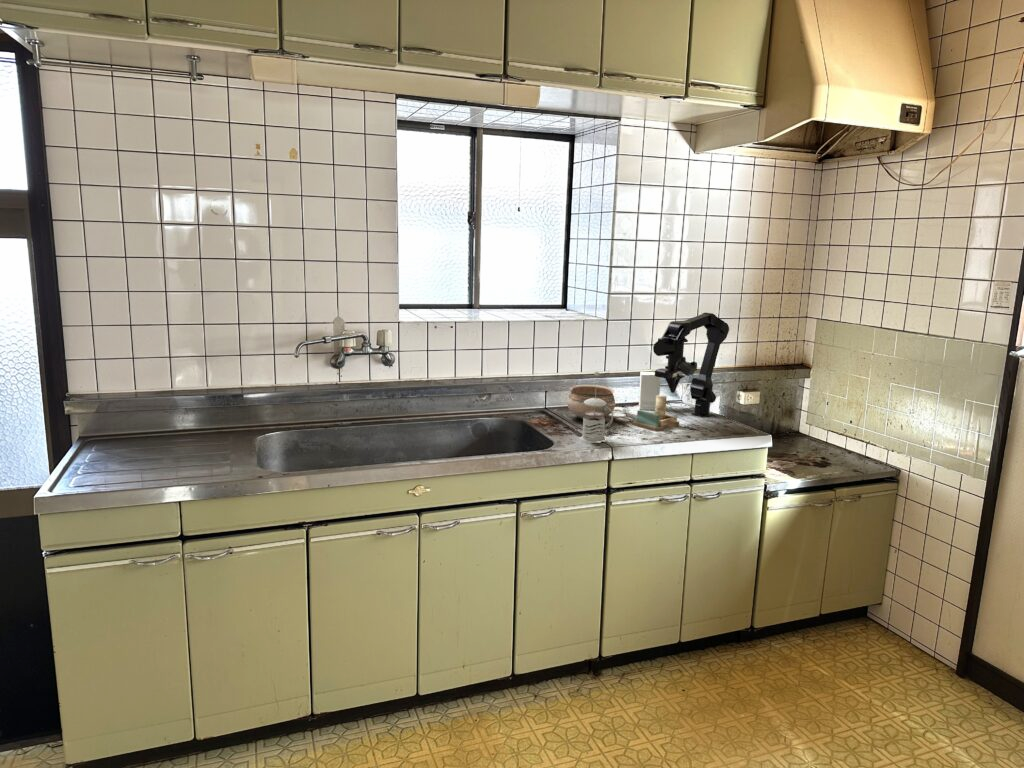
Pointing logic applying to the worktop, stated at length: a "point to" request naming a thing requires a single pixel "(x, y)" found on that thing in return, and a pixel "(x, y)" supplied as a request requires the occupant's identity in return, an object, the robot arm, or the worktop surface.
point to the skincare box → (648, 390)
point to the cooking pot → (587, 392)
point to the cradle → (654, 421)
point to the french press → (594, 434)
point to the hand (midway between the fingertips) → (672, 392)
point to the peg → (660, 406)
